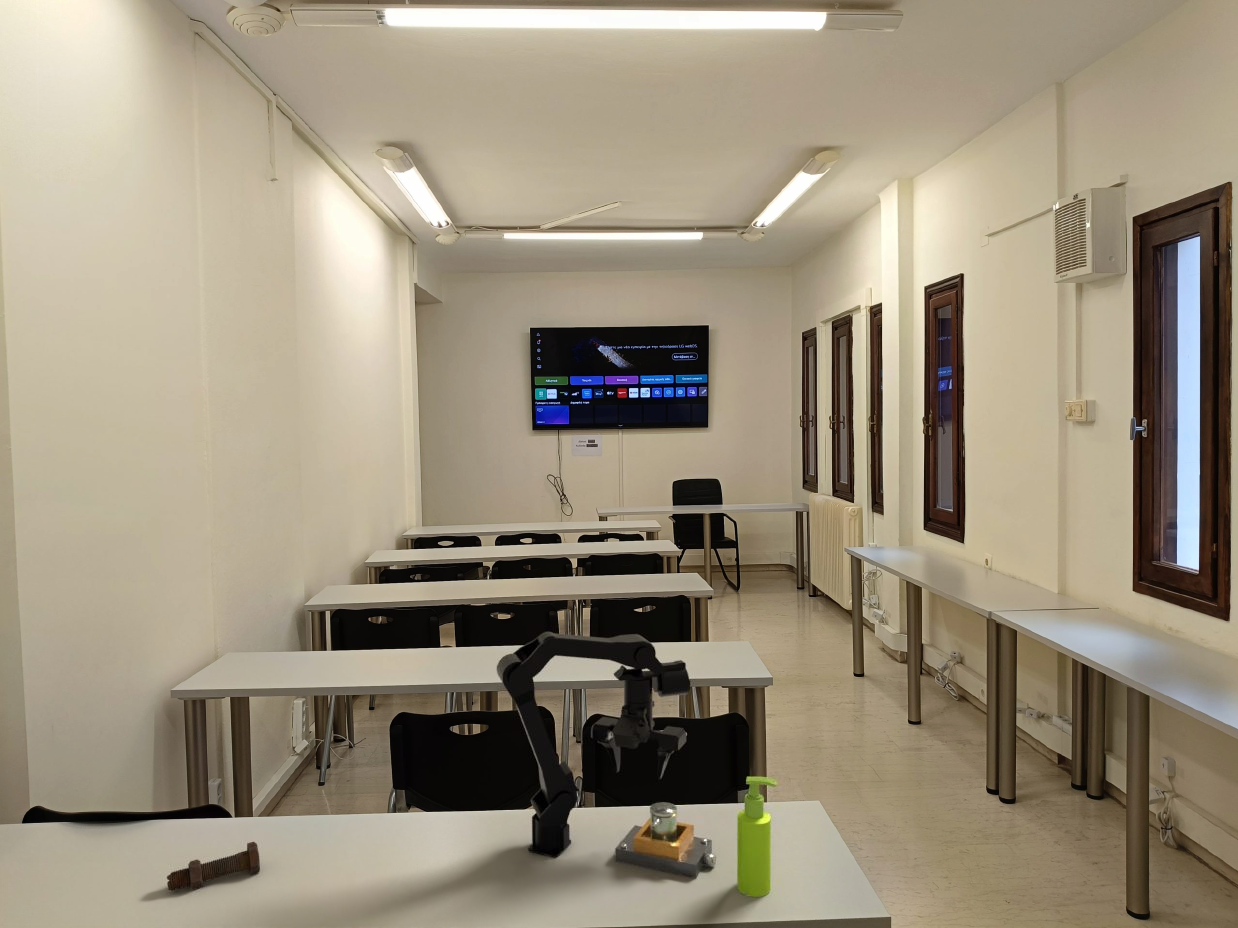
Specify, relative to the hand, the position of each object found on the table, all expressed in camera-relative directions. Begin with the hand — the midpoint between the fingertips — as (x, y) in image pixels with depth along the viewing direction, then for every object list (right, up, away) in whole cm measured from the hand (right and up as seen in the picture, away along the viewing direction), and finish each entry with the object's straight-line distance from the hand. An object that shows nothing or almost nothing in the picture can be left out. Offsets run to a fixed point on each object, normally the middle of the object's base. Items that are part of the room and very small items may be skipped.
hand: (638, 774), depth 172 cm
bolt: (-78, -14, -16) cm, 81 cm away
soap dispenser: (+21, -13, -20) cm, 32 cm away
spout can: (+4, -10, -10) cm, 15 cm away
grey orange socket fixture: (+5, -12, -9) cm, 16 cm away
